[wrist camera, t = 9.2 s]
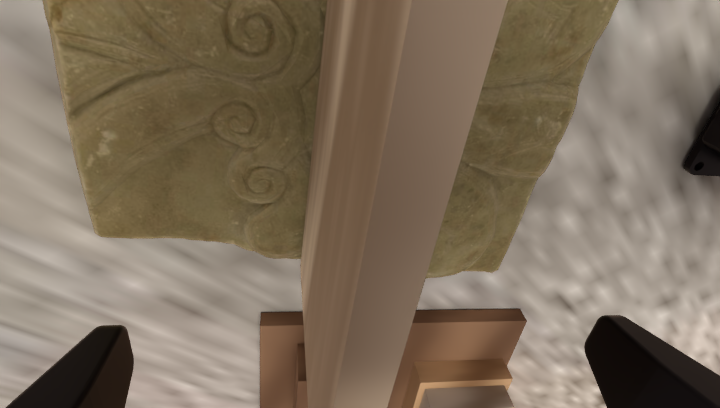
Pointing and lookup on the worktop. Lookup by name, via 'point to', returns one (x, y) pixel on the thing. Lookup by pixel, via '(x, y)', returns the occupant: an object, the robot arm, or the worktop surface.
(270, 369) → the walnut rack
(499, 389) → the grey offcut
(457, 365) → the oak offcut
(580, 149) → the worktop surface
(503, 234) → the decorative tile
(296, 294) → the worktop surface
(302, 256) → the birch sheet
